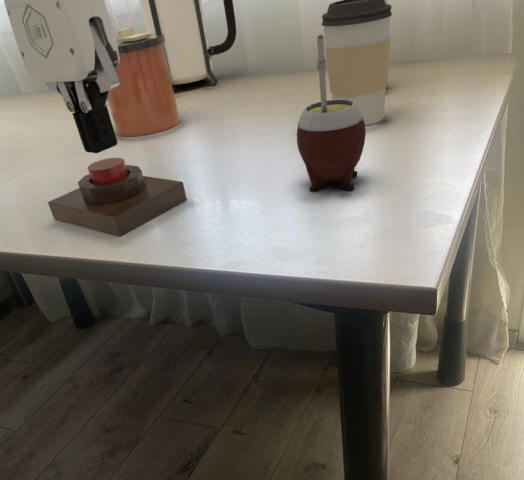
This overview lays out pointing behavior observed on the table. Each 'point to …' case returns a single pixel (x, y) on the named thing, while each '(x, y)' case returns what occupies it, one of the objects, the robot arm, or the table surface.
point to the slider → (131, 35)
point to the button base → (118, 202)
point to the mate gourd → (330, 137)
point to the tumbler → (143, 89)
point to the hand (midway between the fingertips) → (101, 148)
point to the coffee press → (187, 37)
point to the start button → (107, 170)
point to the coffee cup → (358, 53)
